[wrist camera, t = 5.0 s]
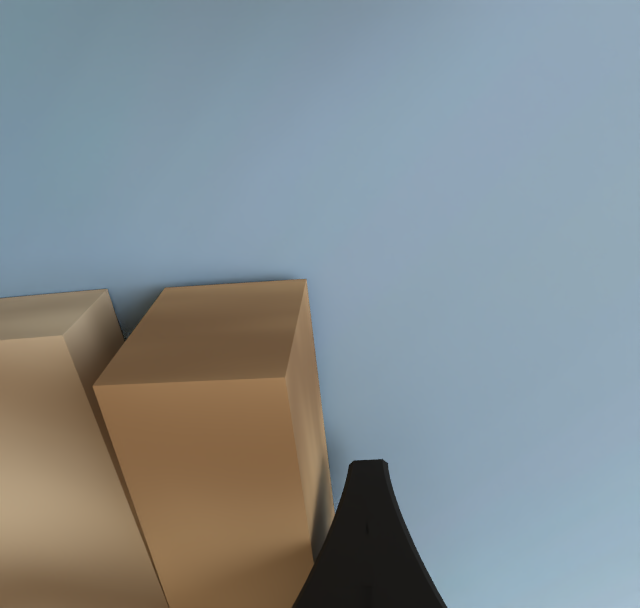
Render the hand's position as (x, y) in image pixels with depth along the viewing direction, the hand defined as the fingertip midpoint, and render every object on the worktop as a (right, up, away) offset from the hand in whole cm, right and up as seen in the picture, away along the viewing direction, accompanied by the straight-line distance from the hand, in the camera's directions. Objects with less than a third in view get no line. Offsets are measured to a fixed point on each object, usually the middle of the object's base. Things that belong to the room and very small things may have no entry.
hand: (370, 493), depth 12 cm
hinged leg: (-2, -3, +3) cm, 5 cm away
